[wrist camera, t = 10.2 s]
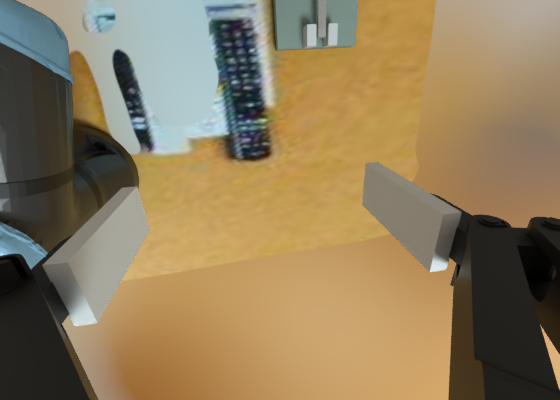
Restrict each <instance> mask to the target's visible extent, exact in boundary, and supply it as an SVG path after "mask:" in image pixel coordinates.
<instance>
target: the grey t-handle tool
mask: <svg viewBox="0 0 560 400" xmlns="http://www.w3.org/2000/svg"><path fill="white" fill-rule="evenodd" d="M325 37H326V0H316V38H325Z"/></svg>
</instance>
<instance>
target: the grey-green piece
mask: <svg viewBox="0 0 560 400" xmlns="http://www.w3.org/2000/svg"><path fill="white" fill-rule="evenodd" d="M273 4H274V23H275V43H276V51H280V50H301V49H323V48H344V47H352V46H355V42H356V25H357V8H358V0H326V37H325V38H316V0H273Z"/></svg>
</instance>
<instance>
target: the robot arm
mask: <svg viewBox="0 0 560 400" xmlns="http://www.w3.org/2000/svg"><path fill="white" fill-rule="evenodd" d="M72 84H74V78H73V77H72V76H71V70H70V59H69V48H68V42H67V39H66V36H65V34H64V32H63V31H62V30H61V28H60V27H59V26H58V25H57V24H56V23H55V22H54V21H53V20H51V19H50V18H48V17H47V16H46V15H44V14H42V13H40V12H38V11H36V10H34V9H33V8H31V7H28V6H26V5H25V4H22V3H20V2H18V1H16V0H0V400H98V398H97V396H96V394H95V392H94V390H93V388H92V386H91V383H90V381H89V380H88V377H87V375H86V373H85V371H84V369H83V366H82V365H81V362H80V360H79V358H78V356H77V354H76V352H75V350H74V347H73V345H72V343H71V341H70V339H69V337H68V335H67V333H66V331H65V329H64V328H63V325H62V323H63V321H64V320H65V319H66V317H67V316H68V315H69V316H70V318H71V320H72V322H73V324H74V326H81V325H88V324H94V323H98V321H99V320H100V318H101V316H102V314H103V312H104V311H105V309H106V307H107V305H108V304H109V302H110V300H111V298H112V296H113V294H114V293H115V291H116V289H117V288H118V286H119V284H120V282H121V280H122V279H123V277H124V275H125V273H126V272H127V270H128V268H129V266H130V264H131V263H132V261H133V259H134V257H135V256H136V254H137V252H138V250H139V248H140V247H141V245H142V243H143V241H144V240H145V238H146V236H147V234H148V233H149V231H150V228H149V224H148V221H147V218H146V214H145V211H144V208H143V205H142V201H141V198H140V195H139V191H138V187H139V176H138V172H137V168H136V166H135V163H134V161H133V159H132V158H131V156H130V155H129V153H128V152H127V151H126V150H125V149H124V148H123V146H121V145H120V144H119V143H118V142H117V141H116V140H114V139H113V138H112V137H110V136H108V135H107V134H105V133H103V132H101V131H99V130H96V129H94V128H90V127H87V126H82V125H73V99H72ZM362 205H363V206H364V207H365V208H366V209H367V210H368V211H369V212H370V213H371V214H372V215H373V216H374V217H375V218H376V219H377V220H378V221H379V222H380V223H381V224H382V225H383V226H384V227H385V228H386V229H387V230H388V231H389V232H390V233H391V234H392V235H393V236H394V237H395V238H396V239H397V240H398V241H399V242H400V243H401V244H402V245H403V246H404V247H405V248H406V249H407V250H408V251H409V252H410V253H411V254H412V255H413V256H414V257H415V258H416V259H417V260H418V261H419V262H420V263H421V264H422V265H423V266H424V267H425V268H426V269H427V270H428V271H429V272H434V271H441V270H446V268H447V265H448V261H449V258H451V259H452V260H454V261H455V262H456V267H455V270H454V274H453V277H452V281H451V284H450V285H452V286H454V290H453V314H452V336H451V358H450V379H449V380H450V381H449V400H560V390H559V388H558V384H557V381H556V378H555V374H554V371H553V367H552V364H551V361H550V357H549V354H548V350H547V347H546V343H545V340H544V337H543V333H542V330H541V327H540V325H541V326H542V328H543V329H544V331H545V333H546V334H547V336H548V337H549V339H550V340H551V342H552V343H553V345H554V346H555V348H556V350H557V351H558V353H559V354H560V219H556V218H551V217H550V218H547V217H534V218H531V220H530V222H529V224H528V227H527V228H512V227H511V226H510V224H509V223H507V222H506V221H504V220H502V219H500V218H497V217H493V216H489V215H473V216H472V215H470V214H469V213H467V212H465V211H463V210H462V209H460V208H458V207H457V206H455V205H454V206H453V204H451V203H450V202H447V201H446V200H445V199H443V198H441V197H439V196H437V195H434V194H431V193H429V192H427V191H425V190H424V189H422V188H420V187H418V186H417V185H415V184H414V183H412V182H410V181H408V180H407V179H405V178H403V177H402V176H400V175H398V174H397V173H395V172H393V171H392V170H390V169H388V168H387V167H385V166H383V165H382V164H380V163H378V162H376V163H366V168H365V179H364V190H363V202H362Z"/></svg>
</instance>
